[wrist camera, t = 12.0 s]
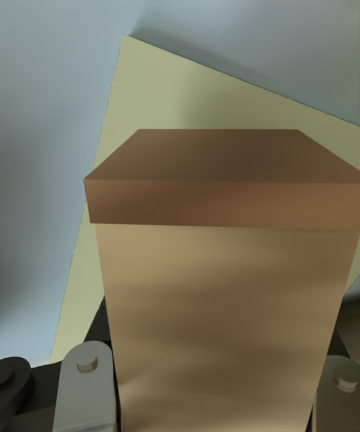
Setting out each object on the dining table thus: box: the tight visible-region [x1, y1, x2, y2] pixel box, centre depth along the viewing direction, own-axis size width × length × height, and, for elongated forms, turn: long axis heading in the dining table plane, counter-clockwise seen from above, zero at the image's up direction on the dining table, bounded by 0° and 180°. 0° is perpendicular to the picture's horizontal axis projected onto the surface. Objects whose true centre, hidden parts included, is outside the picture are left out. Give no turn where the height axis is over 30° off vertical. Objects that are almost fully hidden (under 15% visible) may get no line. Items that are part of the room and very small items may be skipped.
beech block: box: [83, 129, 360, 432], centre depth 10 cm, size 5×5×13 cm
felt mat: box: [49, 34, 360, 364], centre depth 13 cm, size 11×16×1 cm
